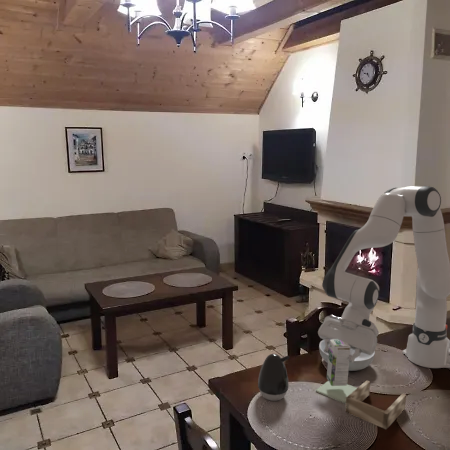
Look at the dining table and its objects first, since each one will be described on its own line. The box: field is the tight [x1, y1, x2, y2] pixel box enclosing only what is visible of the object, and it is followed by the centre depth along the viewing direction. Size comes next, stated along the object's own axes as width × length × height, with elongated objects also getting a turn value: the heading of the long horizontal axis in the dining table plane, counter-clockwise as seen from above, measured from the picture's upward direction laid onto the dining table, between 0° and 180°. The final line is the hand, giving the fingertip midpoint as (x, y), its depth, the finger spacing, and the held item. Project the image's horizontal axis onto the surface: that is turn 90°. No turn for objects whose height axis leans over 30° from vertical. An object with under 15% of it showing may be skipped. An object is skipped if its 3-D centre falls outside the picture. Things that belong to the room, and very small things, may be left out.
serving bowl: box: [318, 339, 376, 372], centre depth 178 cm, size 21×21×7 cm
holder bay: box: [345, 380, 407, 430], centre depth 147 cm, size 15×13×5 cm
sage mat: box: [315, 380, 358, 405], centre depth 159 cm, size 11×11×1 cm
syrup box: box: [326, 339, 351, 386], centre depth 157 cm, size 6×6×14 cm
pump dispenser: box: [257, 353, 290, 402], centre depth 154 cm, size 10×10×15 cm
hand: (338, 356), depth 156 cm, fingers closed on syrup box, 8 cm apart
